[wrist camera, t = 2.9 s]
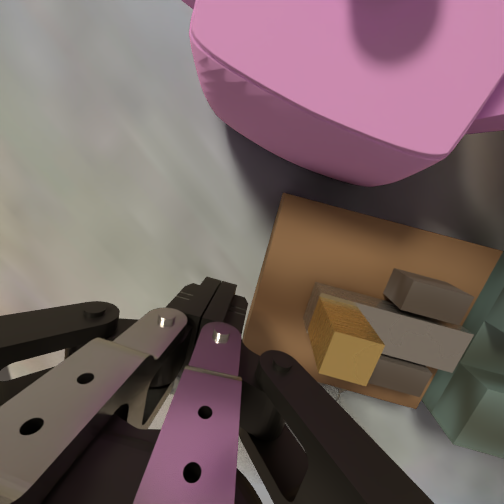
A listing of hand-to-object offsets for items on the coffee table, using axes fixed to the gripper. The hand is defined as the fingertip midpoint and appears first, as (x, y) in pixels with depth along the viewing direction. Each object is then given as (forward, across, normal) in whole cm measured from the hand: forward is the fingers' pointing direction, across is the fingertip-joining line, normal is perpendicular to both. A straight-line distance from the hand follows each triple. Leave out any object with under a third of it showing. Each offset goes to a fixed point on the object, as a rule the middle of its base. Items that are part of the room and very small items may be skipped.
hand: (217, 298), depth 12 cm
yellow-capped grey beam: (+3, -9, 0) cm, 9 cm away
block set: (+7, -12, 0) cm, 14 cm away
